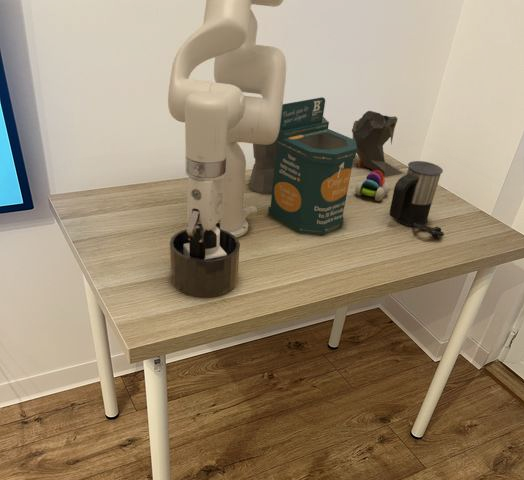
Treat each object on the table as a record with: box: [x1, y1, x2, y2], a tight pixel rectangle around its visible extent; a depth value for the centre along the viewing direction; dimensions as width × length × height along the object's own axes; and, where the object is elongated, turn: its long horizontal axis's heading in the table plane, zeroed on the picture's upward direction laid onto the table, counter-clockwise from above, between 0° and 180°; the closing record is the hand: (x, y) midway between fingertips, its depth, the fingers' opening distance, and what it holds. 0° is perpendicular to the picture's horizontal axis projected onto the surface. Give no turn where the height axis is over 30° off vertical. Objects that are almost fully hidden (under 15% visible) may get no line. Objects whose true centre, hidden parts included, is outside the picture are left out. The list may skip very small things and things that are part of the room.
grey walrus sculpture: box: [351, 110, 403, 178], centre depth 169 cm, size 14×15×18 cm
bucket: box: [169, 228, 241, 298], centre depth 113 cm, size 14×14×9 cm
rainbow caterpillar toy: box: [354, 170, 391, 202], centre depth 155 cm, size 8×10×7 cm
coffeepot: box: [248, 142, 276, 195], centre depth 149 cm, size 15×9×18 cm, turn 37°
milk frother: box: [389, 160, 445, 238], centre depth 139 cm, size 14×16×15 cm
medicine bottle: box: [183, 223, 227, 260], centre depth 112 cm, size 7×7×12 cm
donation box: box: [267, 97, 357, 236], centre depth 133 cm, size 16×16×28 cm
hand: (205, 247), depth 111 cm, fingers closed on medicine bottle, 7 cm apart
